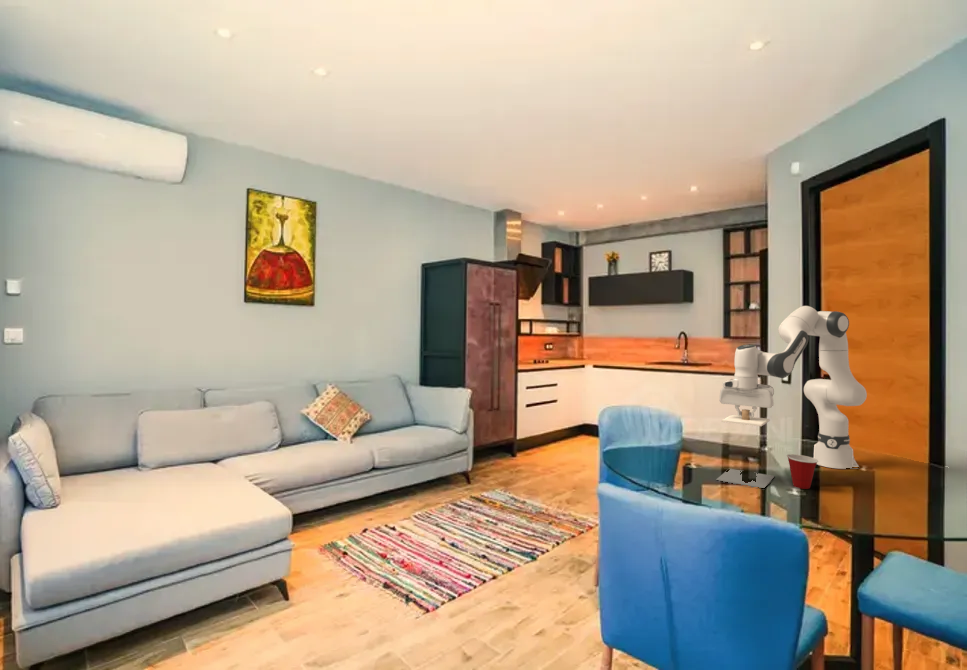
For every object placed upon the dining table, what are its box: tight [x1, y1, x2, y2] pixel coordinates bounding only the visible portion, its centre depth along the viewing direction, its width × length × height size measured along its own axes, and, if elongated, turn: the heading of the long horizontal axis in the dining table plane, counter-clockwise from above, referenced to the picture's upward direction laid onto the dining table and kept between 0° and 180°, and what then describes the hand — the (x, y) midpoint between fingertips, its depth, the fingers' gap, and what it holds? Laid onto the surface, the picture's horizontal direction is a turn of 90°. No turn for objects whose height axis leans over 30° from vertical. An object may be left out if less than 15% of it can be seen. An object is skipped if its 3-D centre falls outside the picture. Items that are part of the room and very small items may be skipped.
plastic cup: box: [786, 453, 818, 490], centre depth 206 cm, size 11×11×12 cm
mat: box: [715, 468, 776, 489], centre depth 217 cm, size 20×18×1 cm
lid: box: [721, 408, 771, 427], centre depth 216 cm, size 15×15×5 cm
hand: (745, 416), depth 216 cm, fingers closed on lid, 3 cm apart
